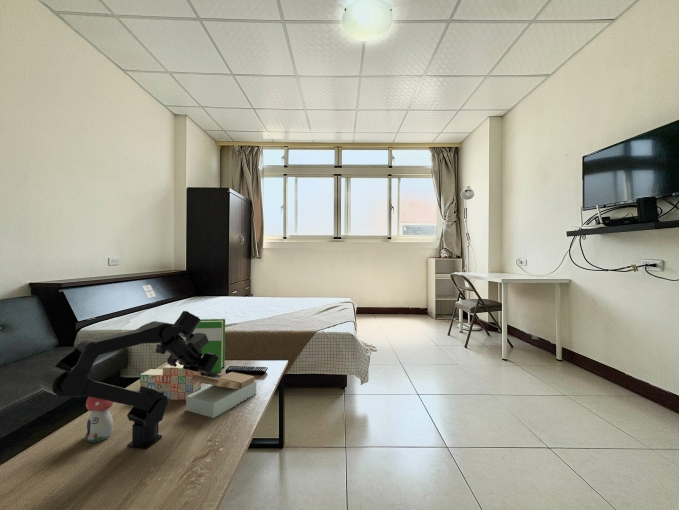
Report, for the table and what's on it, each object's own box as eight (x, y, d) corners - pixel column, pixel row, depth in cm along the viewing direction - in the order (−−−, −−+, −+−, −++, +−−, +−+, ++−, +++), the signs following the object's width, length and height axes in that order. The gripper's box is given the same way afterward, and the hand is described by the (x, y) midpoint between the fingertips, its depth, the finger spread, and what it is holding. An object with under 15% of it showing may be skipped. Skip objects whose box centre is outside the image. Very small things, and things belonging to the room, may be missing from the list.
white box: (213, 418, 108) (213, 397, 108) (186, 410, 114) (186, 390, 114) (256, 393, 128) (256, 376, 128) (231, 388, 134) (231, 371, 134)
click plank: (216, 385, 110) (218, 379, 111) (191, 380, 115) (193, 374, 116) (238, 389, 120) (240, 383, 121) (214, 383, 125) (216, 378, 126)
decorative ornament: (83, 434, 98) (84, 384, 98) (109, 426, 102) (110, 379, 103) (87, 447, 91) (88, 393, 91) (115, 438, 96) (116, 387, 96)
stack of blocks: (139, 398, 124) (139, 366, 124) (149, 391, 130) (150, 361, 130) (192, 400, 122) (193, 368, 122) (201, 393, 128) (201, 362, 129)
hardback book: (224, 367, 160) (225, 318, 161) (220, 372, 153) (221, 321, 153) (187, 368, 158) (188, 319, 158) (181, 373, 151) (182, 322, 151)
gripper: (214, 329, 105) (238, 354, 115) (174, 324, 113) (200, 348, 123) (194, 361, 98) (221, 384, 108) (153, 353, 106) (182, 375, 116)
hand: (206, 371), depth 114 cm, fingers closed
